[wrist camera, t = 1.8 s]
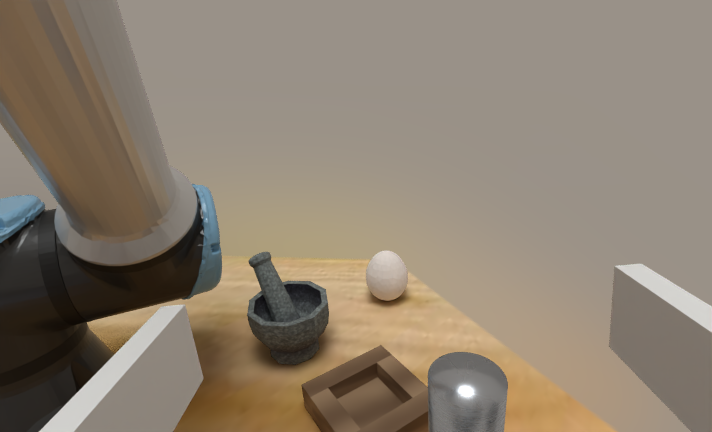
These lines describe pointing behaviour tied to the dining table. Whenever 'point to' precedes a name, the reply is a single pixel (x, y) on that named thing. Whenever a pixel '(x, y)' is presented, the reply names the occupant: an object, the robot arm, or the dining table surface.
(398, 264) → the egg
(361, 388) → the wooden square tray
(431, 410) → the brushed metal peg
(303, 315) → the mortar and pestle
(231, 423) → the dining table surface
